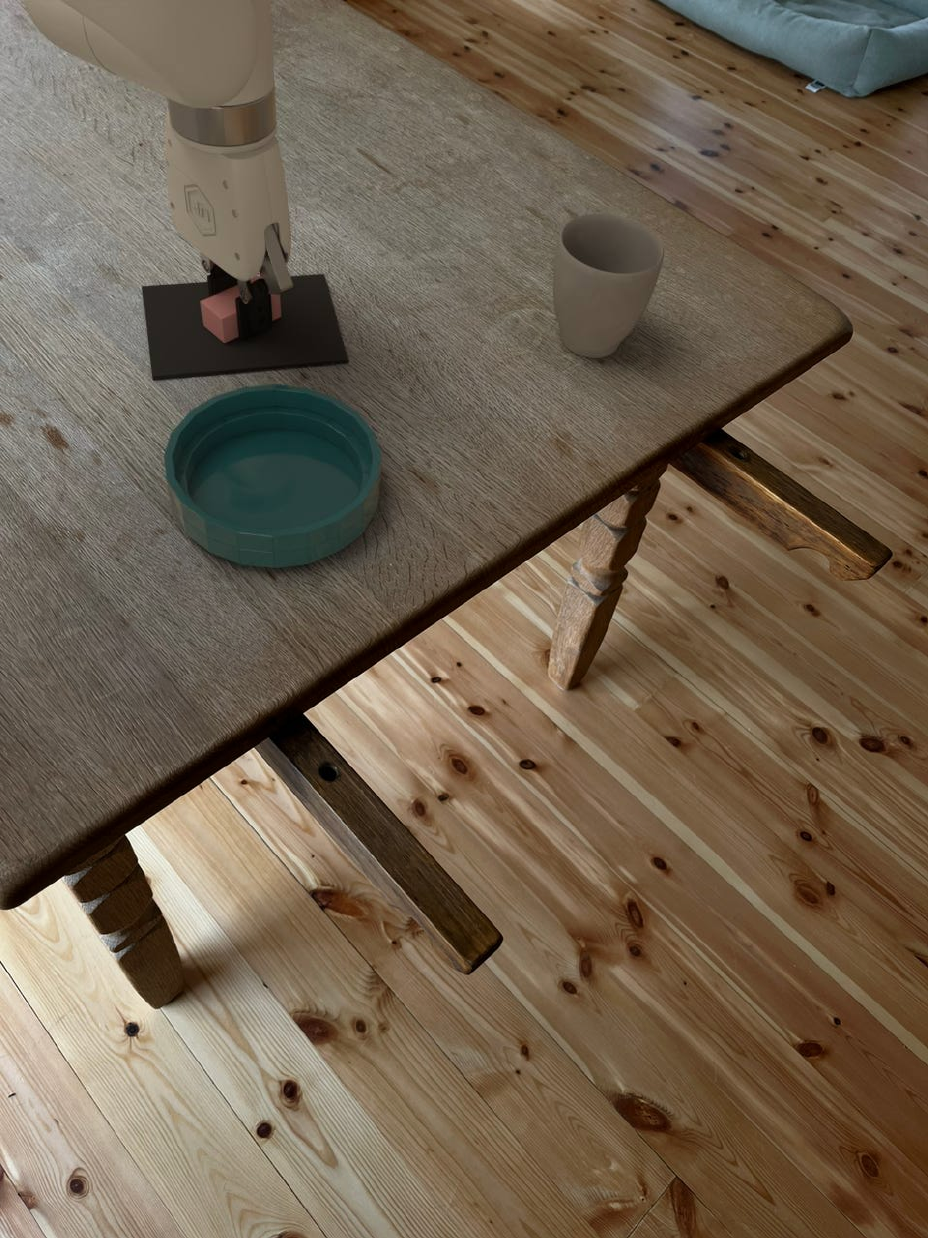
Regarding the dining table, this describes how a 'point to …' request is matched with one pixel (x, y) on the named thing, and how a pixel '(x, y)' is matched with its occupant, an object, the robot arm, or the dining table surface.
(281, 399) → the bowl
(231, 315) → the eraser
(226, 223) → the robot arm
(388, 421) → the dining table surface
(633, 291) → the mug
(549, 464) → the dining table surface
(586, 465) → the dining table surface
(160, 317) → the mat
